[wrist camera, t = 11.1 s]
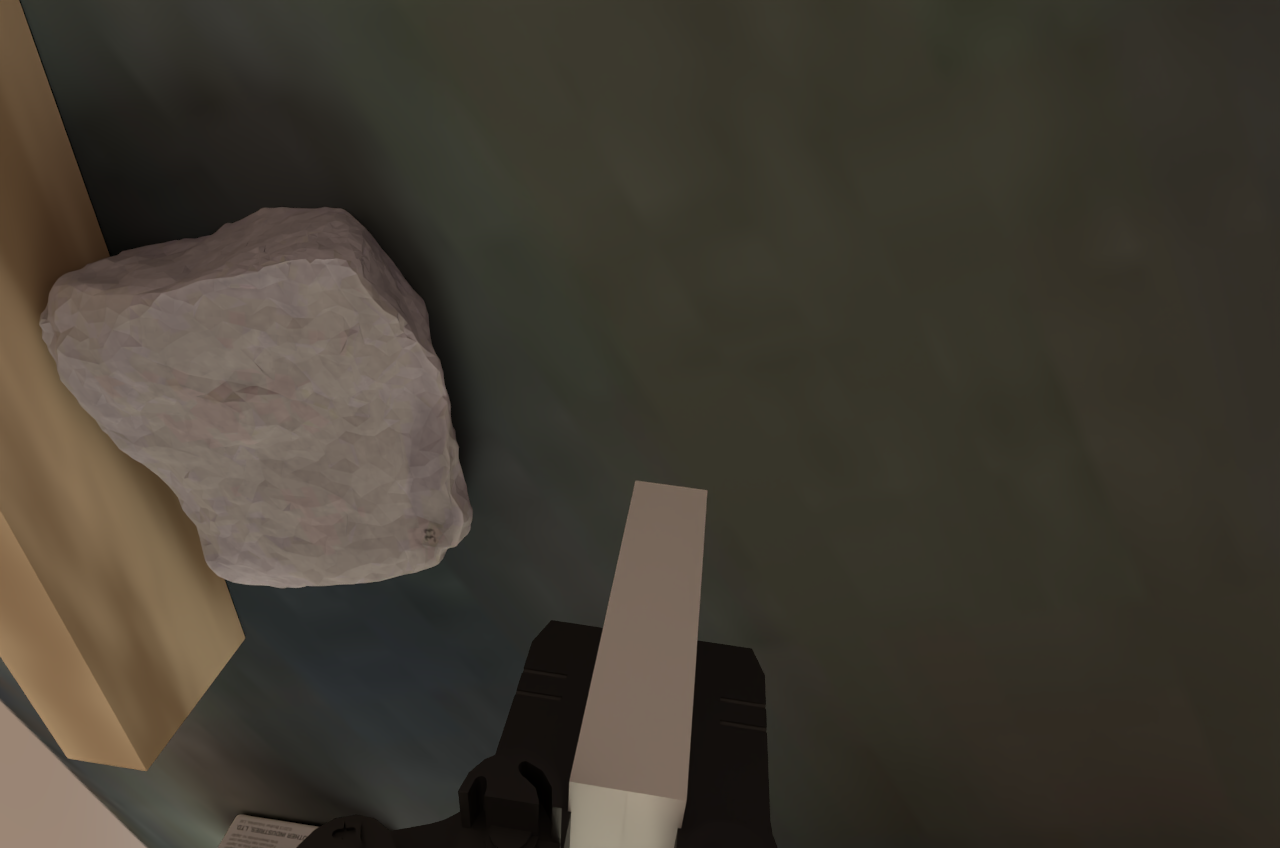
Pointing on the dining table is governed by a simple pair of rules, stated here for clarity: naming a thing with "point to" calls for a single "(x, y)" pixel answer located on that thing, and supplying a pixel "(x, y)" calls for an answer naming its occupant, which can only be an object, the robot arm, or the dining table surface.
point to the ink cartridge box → (264, 833)
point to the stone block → (273, 395)
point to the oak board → (83, 484)
